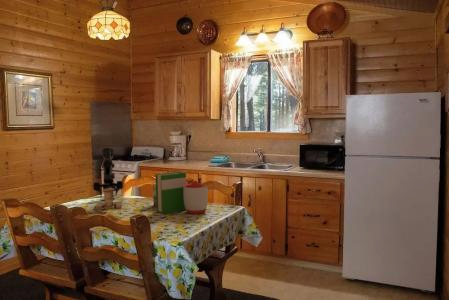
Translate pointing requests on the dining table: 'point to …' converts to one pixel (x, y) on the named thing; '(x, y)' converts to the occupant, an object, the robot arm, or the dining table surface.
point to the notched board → (115, 204)
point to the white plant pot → (195, 197)
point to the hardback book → (170, 192)
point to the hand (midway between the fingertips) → (108, 195)
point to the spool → (108, 198)
